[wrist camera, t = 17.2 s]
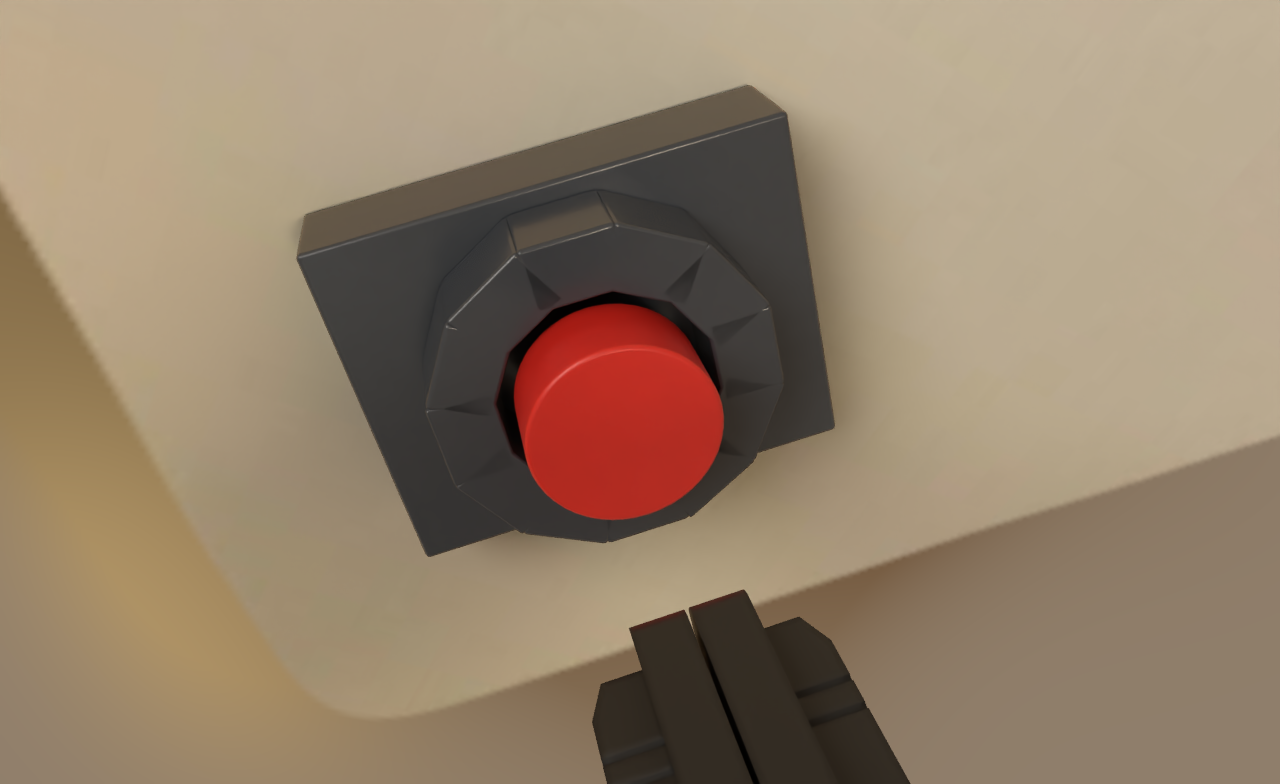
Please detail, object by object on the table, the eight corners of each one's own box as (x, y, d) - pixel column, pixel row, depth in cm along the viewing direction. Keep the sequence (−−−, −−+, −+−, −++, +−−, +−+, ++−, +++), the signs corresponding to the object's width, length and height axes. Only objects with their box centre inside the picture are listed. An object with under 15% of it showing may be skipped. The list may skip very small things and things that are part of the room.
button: (542, 490, 20) (555, 546, 18) (489, 335, 18) (498, 383, 16) (714, 435, 20) (740, 487, 18) (678, 278, 18) (704, 319, 17)
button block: (423, 499, 24) (430, 617, 20) (302, 213, 20) (285, 299, 16) (801, 380, 24) (870, 476, 21) (751, 82, 20) (824, 138, 17)
